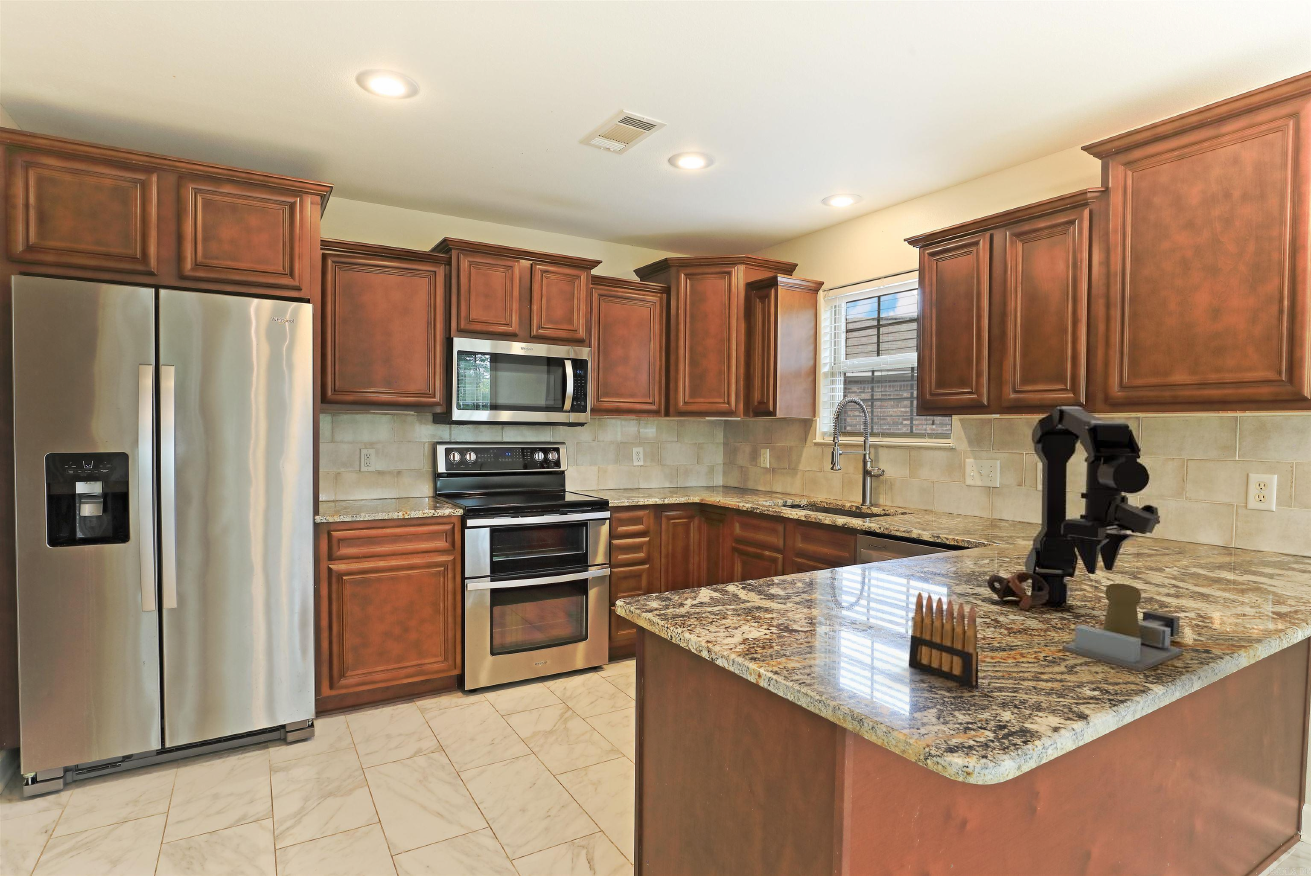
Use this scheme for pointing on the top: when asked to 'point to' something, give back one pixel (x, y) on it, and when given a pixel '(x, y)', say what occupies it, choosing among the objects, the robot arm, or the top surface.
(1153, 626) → the vise jaw
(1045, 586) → the brown twisted loop knot
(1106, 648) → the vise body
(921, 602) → the ammunition clip
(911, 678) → the top surface
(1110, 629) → the cork
